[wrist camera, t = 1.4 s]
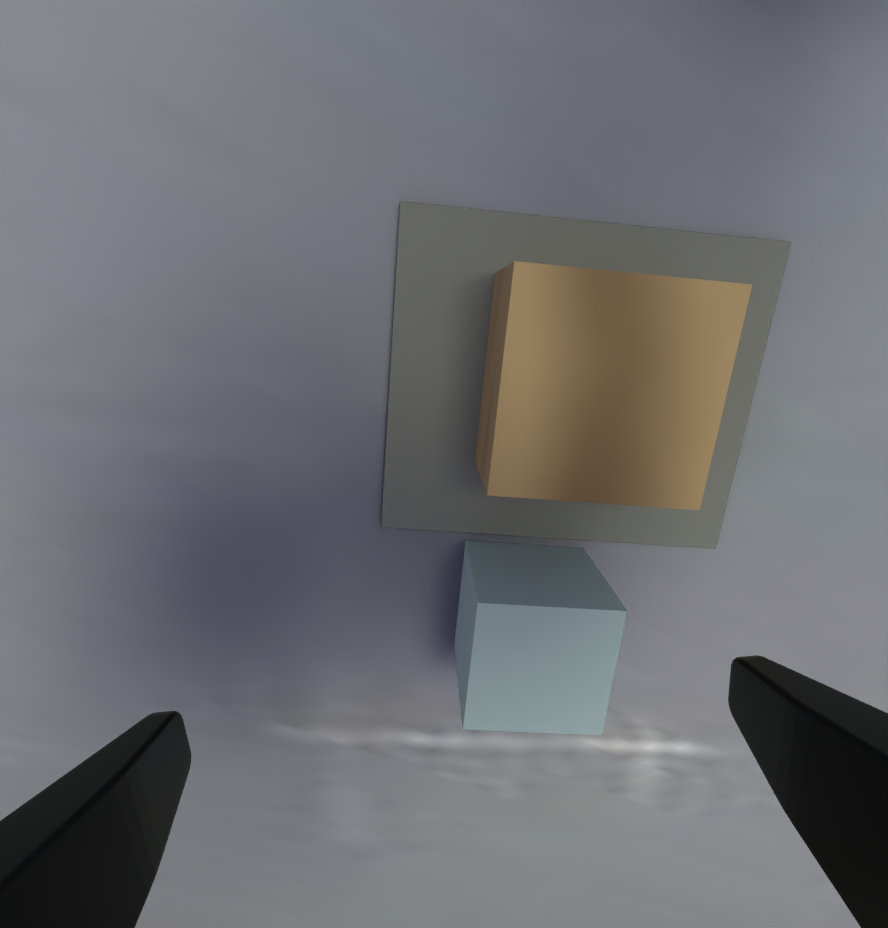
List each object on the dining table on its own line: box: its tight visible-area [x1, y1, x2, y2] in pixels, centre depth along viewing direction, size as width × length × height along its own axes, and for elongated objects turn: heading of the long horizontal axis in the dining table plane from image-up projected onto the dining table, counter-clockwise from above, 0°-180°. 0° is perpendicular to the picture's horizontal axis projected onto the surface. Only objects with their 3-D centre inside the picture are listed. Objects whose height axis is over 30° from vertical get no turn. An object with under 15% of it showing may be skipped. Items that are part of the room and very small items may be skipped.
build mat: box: [381, 201, 791, 549], centre depth 20 cm, size 14×12×1 cm
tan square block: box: [475, 261, 752, 510], centre depth 18 cm, size 7×7×4 cm
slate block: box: [454, 540, 627, 735], centre depth 20 cm, size 5×5×5 cm
